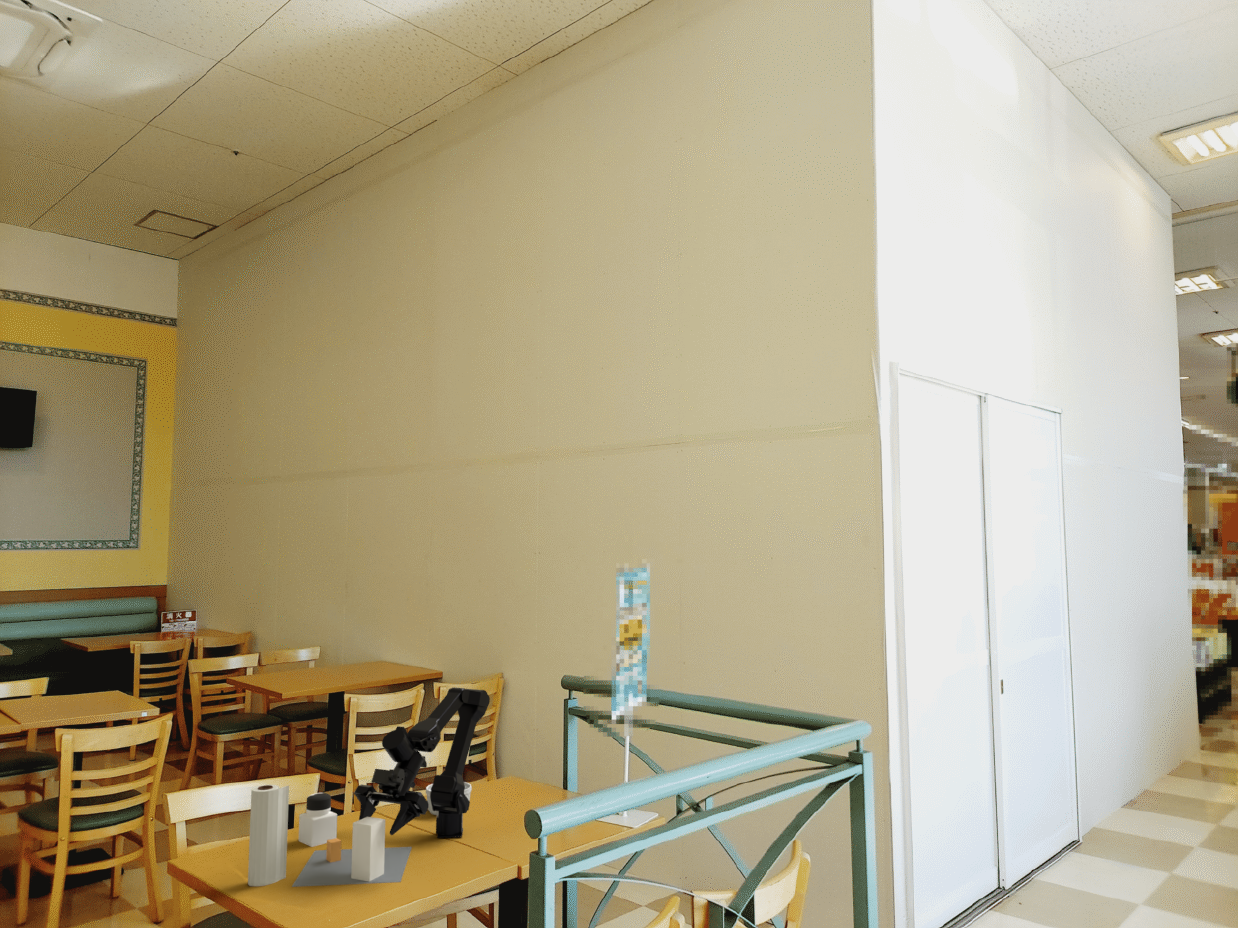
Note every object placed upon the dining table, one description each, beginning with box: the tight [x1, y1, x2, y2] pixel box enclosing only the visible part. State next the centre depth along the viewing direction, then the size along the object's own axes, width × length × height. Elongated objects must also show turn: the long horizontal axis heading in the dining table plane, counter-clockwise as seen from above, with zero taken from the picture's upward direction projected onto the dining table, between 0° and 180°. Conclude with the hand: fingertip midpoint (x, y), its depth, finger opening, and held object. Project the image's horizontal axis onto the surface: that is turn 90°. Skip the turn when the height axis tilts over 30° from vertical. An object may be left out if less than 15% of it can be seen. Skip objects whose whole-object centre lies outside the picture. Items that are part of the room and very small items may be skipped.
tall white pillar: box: [351, 816, 386, 882], centre depth 207 cm, size 5×5×12 cm
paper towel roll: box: [247, 784, 290, 887], centre depth 204 cm, size 7×6×21 cm
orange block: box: [326, 837, 342, 863], centre depth 217 cm, size 3×3×5 cm
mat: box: [291, 846, 413, 888], centre depth 213 cm, size 24×24×1 cm
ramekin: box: [425, 781, 472, 816], centre depth 260 cm, size 13×13×7 cm
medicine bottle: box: [298, 792, 338, 848], centre depth 232 cm, size 7×7×12 cm
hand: (374, 831), depth 210 cm, fingers open, 9 cm apart
